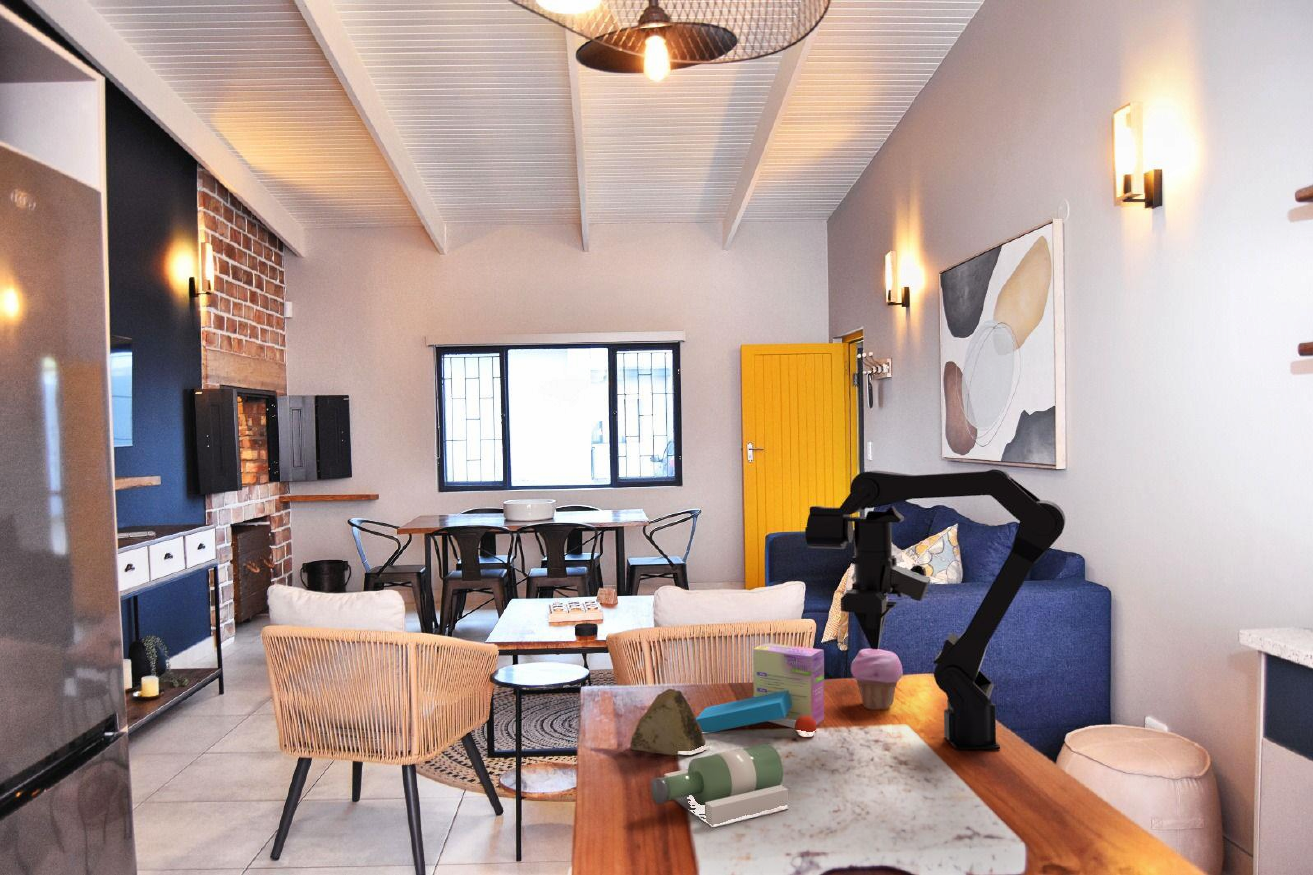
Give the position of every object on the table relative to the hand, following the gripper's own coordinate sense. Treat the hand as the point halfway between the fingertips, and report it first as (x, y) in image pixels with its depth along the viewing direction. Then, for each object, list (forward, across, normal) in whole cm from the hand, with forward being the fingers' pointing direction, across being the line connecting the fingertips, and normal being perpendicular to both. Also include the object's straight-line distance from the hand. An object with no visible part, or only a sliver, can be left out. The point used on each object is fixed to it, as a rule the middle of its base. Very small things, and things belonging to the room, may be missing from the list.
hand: (874, 648), depth 139 cm
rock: (+13, -21, +27) cm, 36 cm away
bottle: (+10, -29, +8) cm, 32 cm away
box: (+13, 0, +14) cm, 20 cm away
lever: (+14, -7, +17) cm, 23 cm away
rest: (+13, -35, +12) cm, 39 cm away
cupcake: (+13, +13, +3) cm, 19 cm away
